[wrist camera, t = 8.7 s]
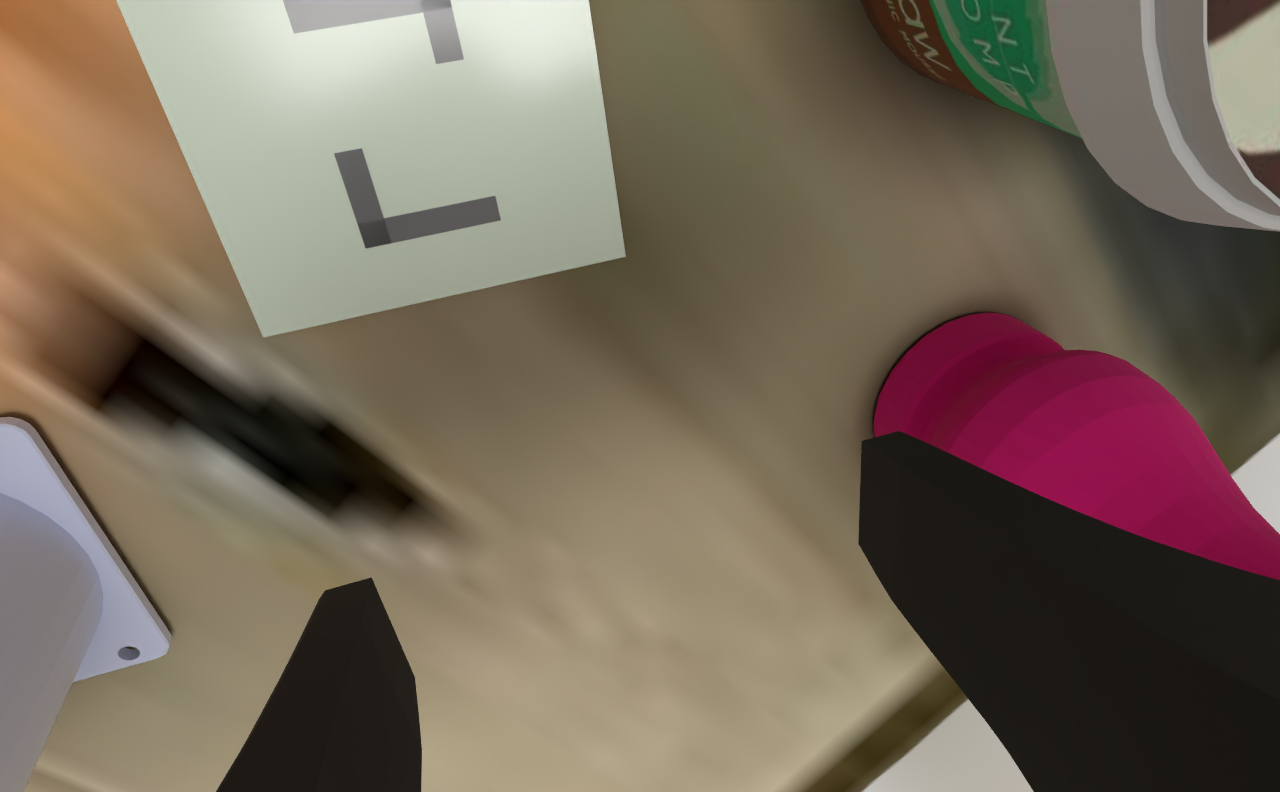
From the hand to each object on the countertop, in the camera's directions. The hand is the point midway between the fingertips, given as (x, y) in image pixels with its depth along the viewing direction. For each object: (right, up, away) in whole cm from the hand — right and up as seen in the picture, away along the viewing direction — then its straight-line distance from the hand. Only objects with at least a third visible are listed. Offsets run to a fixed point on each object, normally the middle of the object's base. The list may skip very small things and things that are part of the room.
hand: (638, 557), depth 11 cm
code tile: (-5, +9, +6) cm, 12 cm away
